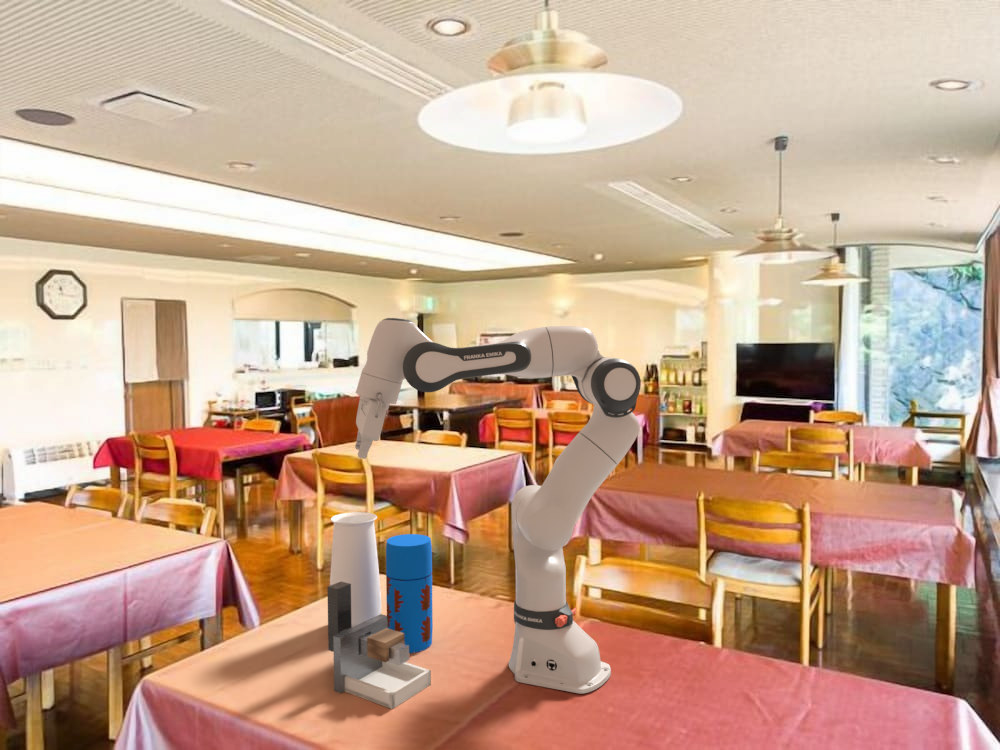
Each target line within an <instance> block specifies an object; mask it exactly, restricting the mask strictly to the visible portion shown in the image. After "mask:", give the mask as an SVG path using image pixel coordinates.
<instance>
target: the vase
mask: <svg viewBox="0 0 1000 750" xmlns="http://www.w3.org/2000/svg"><path fill="white" fill-rule="evenodd" d="M377 519H378V516H377V514H375V513H371V512H364V511H352V512H351V511H350V512H344V513H343V512H342V513H339V514H335V515H333V516H332V517H331V518H330V522H331V523H333V530H332V531H333V533H332V545H331V559H330V561H331V562H330V573H329V574H330V575H329V586H330V585H333V584H336V583H338V582H345V583H349V584H351V628H352V627H354V626H356V625H358V624H360V623H363V622H365V621H367V620H369V619H371V618H373V617H375V616H378V615H380V614H382V595H381V581H380V579H381V578H380V571H379V567H380V566H379V559H378V556H379V555H378V548H377V535H376V527H375V520H377Z"/></svg>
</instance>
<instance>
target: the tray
mask: <svg viewBox="0 0 1000 750" xmlns="http://www.w3.org/2000/svg"><path fill="white" fill-rule="evenodd" d="M431 685H432V670H430V669H428V668H424V667H421V666H419V665H415V664H413V663H409V662H407V661H406V662H404V663H403V664H401V665H397V664H394V663H391V662H388V661H387V662H382V667H381V668H379V669H377V670H376V671H374V672H372V673H370V674H368V675H367V676H365V677H363V678H361V679H359V680H358V679H355V678H353V677H350V676H346V677H345V692H344V693H348V694H350V695H352V696H353V695H354V696H356V697H359V698H360V699H364V700H366V701H369V702H371V703H375V704H378V705H380V706H382V707H384V708H388V709H390V710H393V709H394V708H395V709H396V707H398V706H400V705H401V704H403V703H404V702H405V701H408V700H409V699H411V698H412V697H414V696H415V695H417V694H418V693H420V692H421V691H423V690H424V689H426V688H428V687H429V686H431Z"/></svg>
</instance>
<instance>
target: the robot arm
mask: <svg viewBox="0 0 1000 750" xmlns="http://www.w3.org/2000/svg"><path fill="white" fill-rule="evenodd" d="M598 346H599V345H598V341H597V338H596V336H595V335H594V333H593V332H592V331H591V330H590V329H589V328H587V327H584V326H577V325H576V326H575V325H574V326H573V325H553V326H541V327H535V328H531V329H527V330H523V331H519V332H516V333H514V334H512V335H509V337H507V338H506V339H504V340H502V341H499V342H495V343H491V344H482V345H475V346H466V347H450V346H445V345H444V344H441V343H437V342H434V341H433V340H432V339H430V337H428V336H427V335H426V334H425V333H424V332H423V331H422V330H421V329H420V328H419V327H418V325H417V324H416V322H414V321H413V320H409V319H405V318H397V317H386V318H383V319H381V320H380V321H379V322H378V323H377V325H376V326H375V329H374V331H373V333H372V336H371V339H370V341H369V345H368V348H367V353H366V361H365V364H364V366H363V368H362V370H361V373H360V375H359V379H358V382H357V383H358V384H357V386H356V389H355V394H357V395H359V402H358V407H357V412H356V419H355V425H356V427H357V429H358V430H357V436H356V437H357V438H356V441H355V445H354V448H355V449H356V450H358V452H357V457H358V458H359V459H362V460H363V459H364V460H365V459H367V457H368V455H369V454H368V453H369V451H370V449H371V447H372V444H373V442H377V441H379V439H380V437H381V433H382V430H383V425H384V421H385V419H386V414H387V411H388V410H389V408H390V404H391V405H396V404H397V401H398V398H399V395H400V391H401V388H402V384H403V381H404V380H405V381H406V382H407V383H408V384H409V385H410V386H411V387H412V388H413V389H415V390H417V391H418V392H422V393H435V392H438V391H441V390H442V389H444V388H446V387H447V386H449V385H450V384H452V383H454V382H456V381H459V380H462V379H463V380H465V379H470V378H477V377H486V376H494V375H506V376H512V377H517V378H522V379H546V378H553V377H561V376H562V377H563V376H569V377H571V378H572V380H573V383H574V385H575V389H576V390H577V392H578V393H579V396H580V397H581V398H582V399H583V400H584V401H585V402H587V403H588V404H591V405H593V406H592V407H593V410H592V414H591V416H590V418H589V420H588V422H587V423H586V424H585V425H584V426H583V427H582V428H581V429H580V430H579V432H578V433H577V434H576V435H575V436H574V437H573V439H572V440H571V441H570V443H569V444H567V445H566V447H564V449H563V450H562V452H561V453H560V454H559V455H558V456H557V457H556V459H555V460H554V464H553V466H552V468H551V469H550V472H549V473H548V474H547V477H546V478H545V479H544V481H543V483H542V484H541V485H539V484H538V485H537V484H532V485H531V484H529V485H526V486H523V487H521V488H520V489H519V490H518V491H517V492H516V493H515V495H514V496H513V499H512V502H511V524H512V525H511V526H512V527H511V528H512V541H513V552H514V553H513V555H514V562H515V564H514V566H515V600H514V602H513V620H514V621H513V622H514V624H515V625H514V636H513V644H512V650H511V654H510V657H509V661H508V667H509V669H510V671H511V672H512V673H513V674H514V680H515V681H516V682H517V683H522V684H527V685H532V686H536V687H537V686H538V687H543V688H547V689H553V690H558V691H559V690H560V691H563V692H564V691H565V692H568V693H569V692H570V693H575V694H579V695H580V694H582V695H583V694H587V693H591V692H593V691H595V690H597V689H598V688H600V687H602V686H603V685H604V684H605V683H606V682H607V681H608V680H609V678H610V677H611V675H612V669H611V666H610V664H609V663H607V662H604V661H602V659H601V654H600V649H599V646H598V644H597V642H596V641H595V640H594V639H593V638H592V637H591V636H590V635H589V634H588V633H587V632H585V631H584V629H582V628H581V627H580V625H579V624H577V623H576V622H575V621H574V617H573V616H574V615H576V613H577V607H574V608H573V609H571V608H570V606H569V604H568V601H567V596H566V595H567V591H566V589H567V584H566V583H567V582H566V580H567V578H566V577H567V575H566V574H567V569H566V563H565V556H564V550H563V547H565V546H566V545H567V544H568V543H569V541H570V540H571V538H572V536H573V533H574V529H575V526H576V524H577V523H578V521H579V519H580V518H581V516H582V514H583V512H584V511H585V509H586V508H587V506H588V504H589V501H590V500H591V499H592V497H593V496H594V495H595V493H596V491H597V490H598V489H599V488H600V487H601V485H602V484H603V483H604V482H605V481H606V479H607V478H608V477H609V476H610V474H612V472H613V471H615V469H616V468H617V466H618V465H619V464H620V462H622V461H623V459H624V458H625V457H626V455H627V453H628V452H629V451H630V449H631V448H632V445H633V444H634V442H635V441H636V440H637V437H638V436H639V433H640V428H641V427H640V426H641V425H640V423H639V419H638V418H637V416H636V414H634V413H633V412H634V411H635V409H636V407H637V402H638V401H637V400H638V397H639V394H640V391H641V383H642V382H641V376H640V373H639V372H638V370H637V369H636V367H635V366H634V365H633V364H632V363H630V362H629V361H628V360H625V359H622V358H616V357H608V356H607V357H605V356H604V355H602V354H601V353H600V350H599V347H598Z"/></svg>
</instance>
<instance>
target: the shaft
mask: <svg viewBox="0 0 1000 750" xmlns="http://www.w3.org/2000/svg"><path fill="white" fill-rule="evenodd" d="M326 588H327V590H326V591H327V633H328V634H327V637H328V638H327V639H328V641H327V645H328V647H327V648H328V649H327V650H328V651H330V652H333V653H334V642H333V636H335V635H337V634H339V633H341V632H343V631H345V630H348V629H350V628H351V584H349V583H345V582H338V583H336V584H333V585H330V584H329V585H328V586H327V587H326ZM371 635H373V634H370V633H366V634H364V635H362V636H360V637H358V643H359V652H360V653H363V654H366V655H367V637H369V636H371ZM408 661H410V653H409V645H406V644H403V643H398V644H396V645H394V646H393V647H391V648H389V661H388V662H391V663H394V664H397V665H401V664H403V663H404V662H406V663H407V662H408Z"/></svg>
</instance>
